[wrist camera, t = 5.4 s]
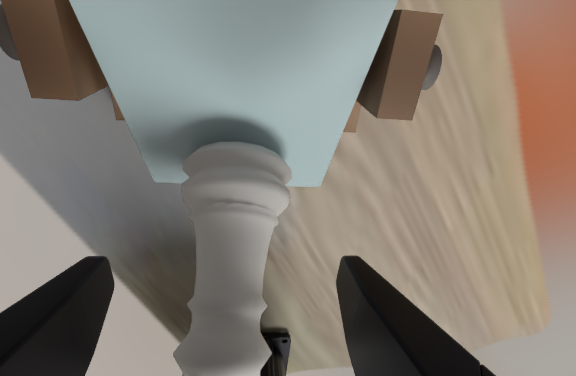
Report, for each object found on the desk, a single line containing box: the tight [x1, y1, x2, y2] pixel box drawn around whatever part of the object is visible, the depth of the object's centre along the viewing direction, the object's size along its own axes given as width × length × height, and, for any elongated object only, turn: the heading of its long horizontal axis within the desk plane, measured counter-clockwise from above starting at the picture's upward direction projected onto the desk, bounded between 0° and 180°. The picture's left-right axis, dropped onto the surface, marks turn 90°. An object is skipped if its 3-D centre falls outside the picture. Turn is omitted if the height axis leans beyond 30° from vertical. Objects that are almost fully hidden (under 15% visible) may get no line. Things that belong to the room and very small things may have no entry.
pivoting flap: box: [69, 0, 398, 187], centre depth 10 cm, size 14×8×2 cm, turn 173°
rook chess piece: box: [173, 142, 292, 376], centre depth 11 cm, size 4×4×8 cm
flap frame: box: [0, 0, 443, 132], centre depth 11 cm, size 8×12×7 cm, turn 85°
